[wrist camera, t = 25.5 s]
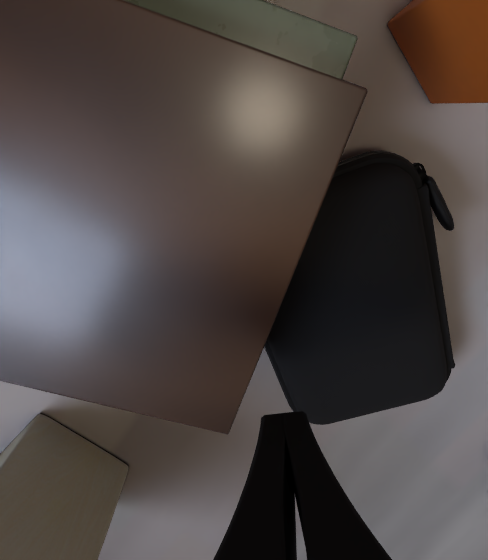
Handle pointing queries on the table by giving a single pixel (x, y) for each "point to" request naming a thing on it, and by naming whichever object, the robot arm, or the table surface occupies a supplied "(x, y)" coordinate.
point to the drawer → (265, 30)
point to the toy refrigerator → (56, 494)
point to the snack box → (446, 47)
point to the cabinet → (152, 203)
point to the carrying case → (366, 296)
